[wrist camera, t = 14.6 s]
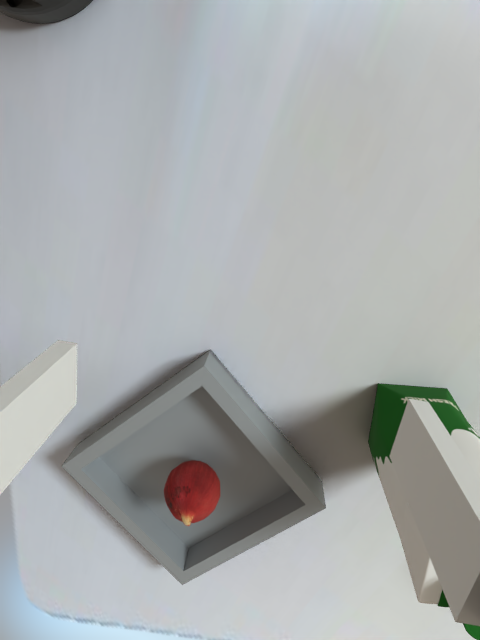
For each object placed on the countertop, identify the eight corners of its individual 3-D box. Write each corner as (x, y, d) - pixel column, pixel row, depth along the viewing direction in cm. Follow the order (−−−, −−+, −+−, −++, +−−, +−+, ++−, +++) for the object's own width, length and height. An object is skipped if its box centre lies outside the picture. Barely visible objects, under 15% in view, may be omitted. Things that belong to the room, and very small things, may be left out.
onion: (167, 477, 48) (146, 534, 40) (182, 438, 46) (163, 489, 38) (215, 494, 48) (203, 553, 40) (231, 455, 46) (222, 510, 38)
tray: (78, 443, 48) (61, 466, 44) (210, 349, 43) (204, 365, 39) (188, 555, 52) (182, 584, 48) (321, 481, 47) (325, 507, 43)
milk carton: (358, 448, 45) (417, 640, 26) (370, 373, 42) (445, 528, 23) (441, 455, 45) (561, 656, 26) (458, 379, 42) (609, 543, 23)
